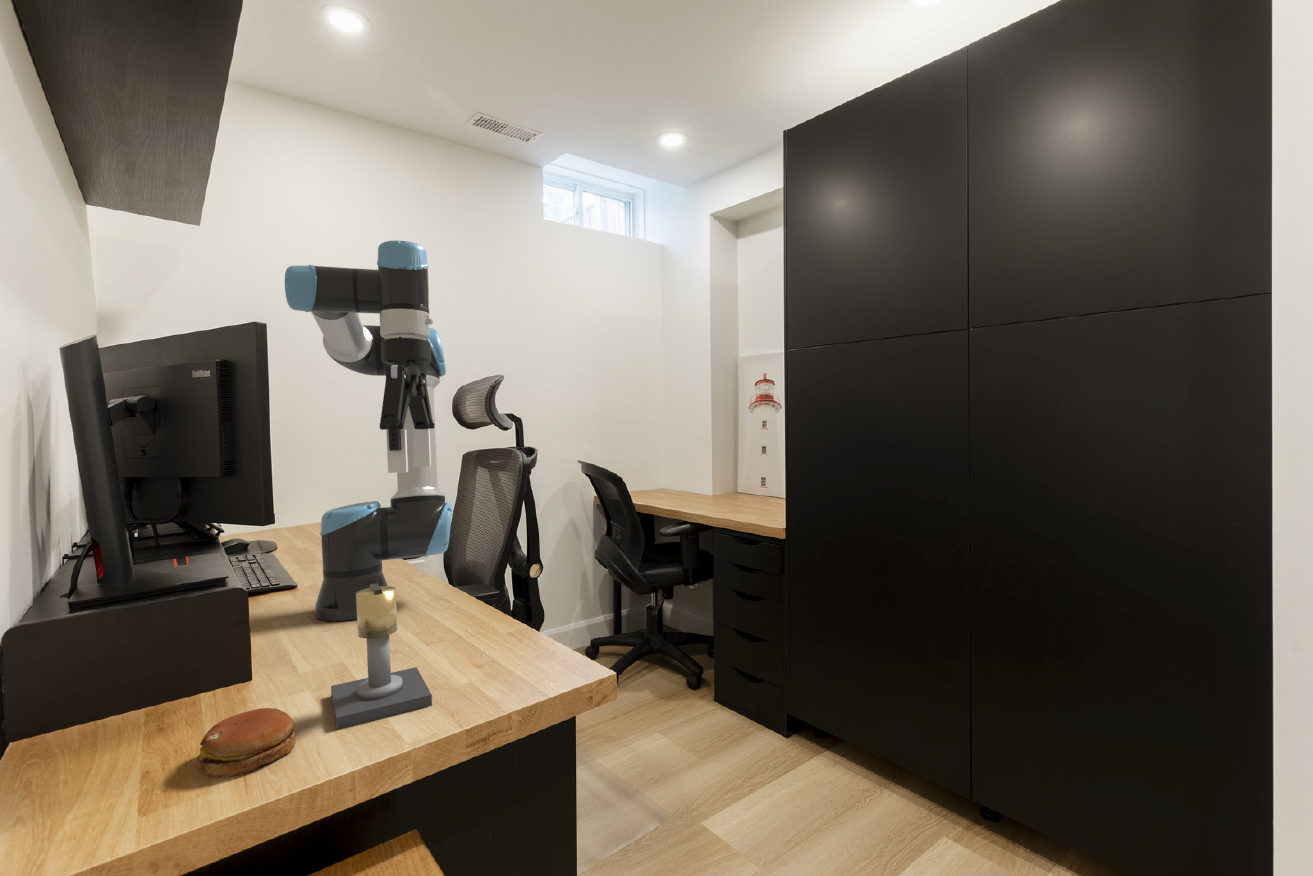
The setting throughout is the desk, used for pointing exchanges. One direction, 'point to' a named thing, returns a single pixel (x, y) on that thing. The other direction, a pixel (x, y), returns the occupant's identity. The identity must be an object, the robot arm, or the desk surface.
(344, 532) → the robot arm
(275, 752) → the burger
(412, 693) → the post block
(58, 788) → the desk surface
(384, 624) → the cap
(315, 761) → the desk surface
